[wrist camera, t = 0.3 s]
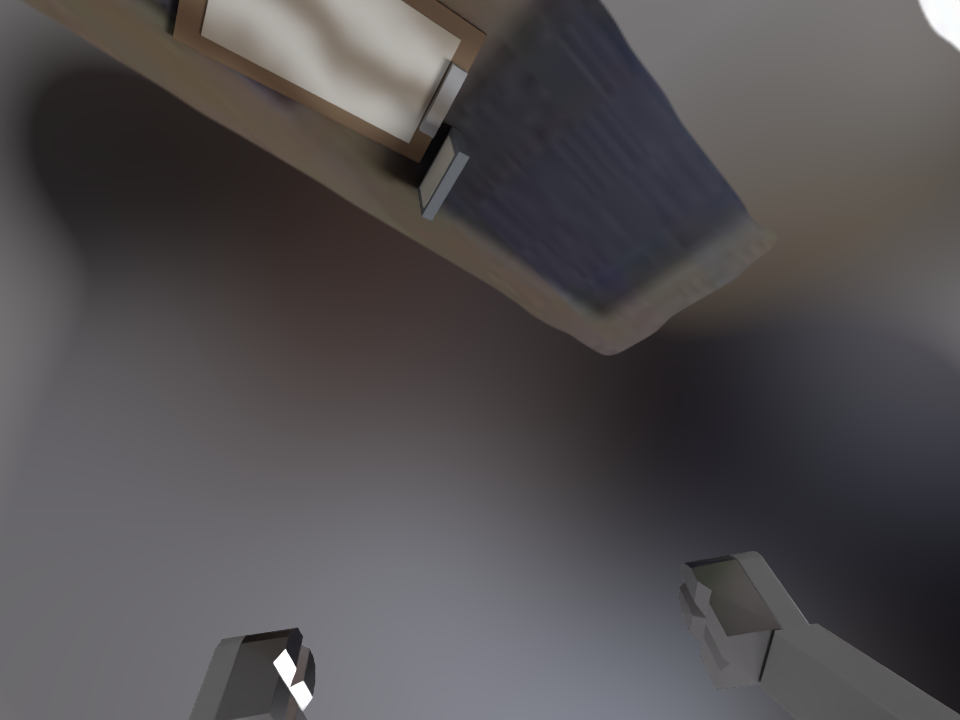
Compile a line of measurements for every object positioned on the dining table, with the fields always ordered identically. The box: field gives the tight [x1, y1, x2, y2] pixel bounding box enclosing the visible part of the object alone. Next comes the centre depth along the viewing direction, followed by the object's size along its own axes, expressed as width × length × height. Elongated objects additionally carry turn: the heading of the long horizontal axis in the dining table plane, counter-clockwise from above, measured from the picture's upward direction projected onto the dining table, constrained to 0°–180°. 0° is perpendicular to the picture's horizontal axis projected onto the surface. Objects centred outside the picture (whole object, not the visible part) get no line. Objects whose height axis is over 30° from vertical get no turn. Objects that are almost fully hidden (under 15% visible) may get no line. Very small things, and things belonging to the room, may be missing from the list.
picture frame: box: [418, 127, 469, 221], centre depth 54 cm, size 8×1×6 cm, turn 147°
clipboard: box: [172, 0, 487, 163], centre depth 46 cm, size 14×24×2 cm, turn 57°
